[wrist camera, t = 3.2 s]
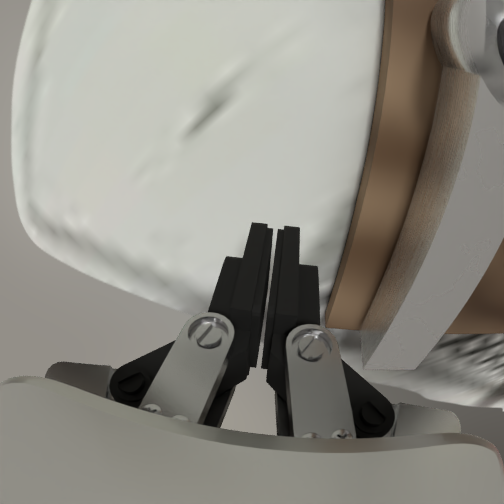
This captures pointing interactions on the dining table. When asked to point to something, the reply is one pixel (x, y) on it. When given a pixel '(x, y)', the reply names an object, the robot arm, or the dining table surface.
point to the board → (402, 177)
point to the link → (447, 194)
